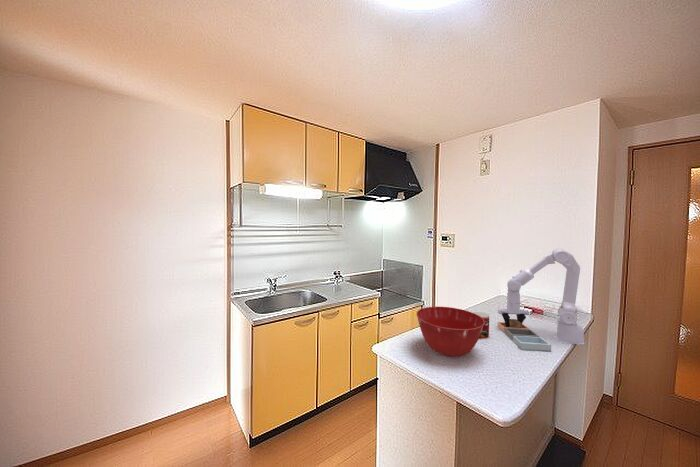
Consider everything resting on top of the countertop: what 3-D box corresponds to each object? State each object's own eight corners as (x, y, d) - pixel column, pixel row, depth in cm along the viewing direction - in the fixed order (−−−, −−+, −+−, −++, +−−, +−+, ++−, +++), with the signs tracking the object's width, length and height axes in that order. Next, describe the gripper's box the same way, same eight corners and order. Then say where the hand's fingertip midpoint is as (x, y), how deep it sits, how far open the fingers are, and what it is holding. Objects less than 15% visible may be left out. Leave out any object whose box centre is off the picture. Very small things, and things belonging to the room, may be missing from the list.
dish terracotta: (521, 328, 143) (521, 323, 143) (529, 334, 135) (529, 329, 134) (497, 327, 144) (497, 321, 144) (503, 333, 136) (503, 327, 136)
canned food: (471, 337, 132) (471, 315, 131) (472, 331, 139) (472, 310, 138) (489, 340, 128) (489, 318, 128) (489, 334, 135) (489, 313, 135)
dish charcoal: (530, 335, 134) (530, 329, 134) (539, 342, 126) (539, 336, 126) (504, 334, 136) (504, 328, 135) (511, 341, 127) (511, 334, 127)
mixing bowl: (486, 344, 123) (487, 312, 123) (481, 374, 99) (482, 333, 98) (425, 332, 138) (425, 303, 137) (407, 355, 113) (408, 320, 113)
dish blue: (540, 343, 125) (540, 337, 125) (551, 351, 117) (551, 344, 117) (512, 341, 127) (512, 335, 127) (521, 349, 119) (521, 343, 118)
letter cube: (515, 328, 142) (516, 319, 141) (520, 332, 137) (520, 322, 136) (505, 327, 142) (506, 318, 142) (510, 331, 137) (510, 321, 137)
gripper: (524, 300, 142) (524, 325, 142) (495, 299, 144) (495, 324, 144) (531, 304, 135) (531, 330, 135) (501, 303, 137) (500, 329, 137)
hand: (513, 327), depth 139 cm, fingers closed on letter cube, 5 cm apart
